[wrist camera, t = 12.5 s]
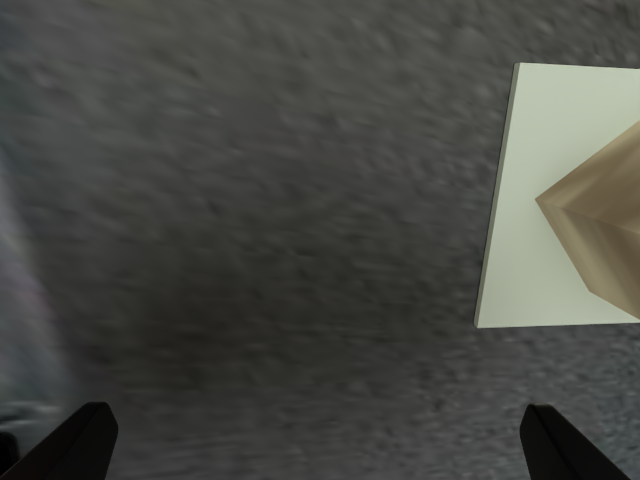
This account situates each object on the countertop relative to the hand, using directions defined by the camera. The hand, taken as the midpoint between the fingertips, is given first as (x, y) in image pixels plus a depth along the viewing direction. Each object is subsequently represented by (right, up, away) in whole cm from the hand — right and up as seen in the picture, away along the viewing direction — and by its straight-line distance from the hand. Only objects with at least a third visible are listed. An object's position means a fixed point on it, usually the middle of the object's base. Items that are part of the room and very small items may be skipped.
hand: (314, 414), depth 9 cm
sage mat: (+14, +5, +11) cm, 18 cm away
